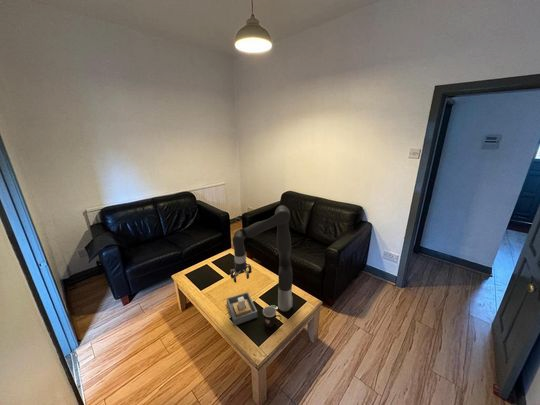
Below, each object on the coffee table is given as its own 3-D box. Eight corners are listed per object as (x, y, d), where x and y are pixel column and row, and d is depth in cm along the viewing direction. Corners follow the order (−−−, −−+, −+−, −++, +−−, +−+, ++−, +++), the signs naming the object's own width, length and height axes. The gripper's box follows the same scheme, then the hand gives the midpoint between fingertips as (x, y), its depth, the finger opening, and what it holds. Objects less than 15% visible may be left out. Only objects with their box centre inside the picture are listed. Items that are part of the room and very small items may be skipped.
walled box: (248, 297, 164) (247, 291, 162) (257, 317, 147) (257, 311, 145) (227, 303, 158) (226, 298, 156) (234, 325, 141) (234, 319, 139)
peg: (243, 306, 155) (243, 296, 152) (245, 310, 151) (244, 300, 148) (238, 308, 153) (237, 298, 150) (239, 312, 150) (239, 302, 147)
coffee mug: (260, 323, 143) (260, 311, 139) (269, 315, 148) (269, 304, 145) (272, 334, 135) (272, 322, 131) (282, 326, 140) (282, 314, 137)
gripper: (248, 254, 150) (249, 274, 155) (228, 259, 144) (229, 280, 149) (252, 260, 143) (253, 280, 149) (231, 265, 137) (232, 286, 143)
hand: (241, 280), depth 149 cm, fingers open, 8 cm apart
